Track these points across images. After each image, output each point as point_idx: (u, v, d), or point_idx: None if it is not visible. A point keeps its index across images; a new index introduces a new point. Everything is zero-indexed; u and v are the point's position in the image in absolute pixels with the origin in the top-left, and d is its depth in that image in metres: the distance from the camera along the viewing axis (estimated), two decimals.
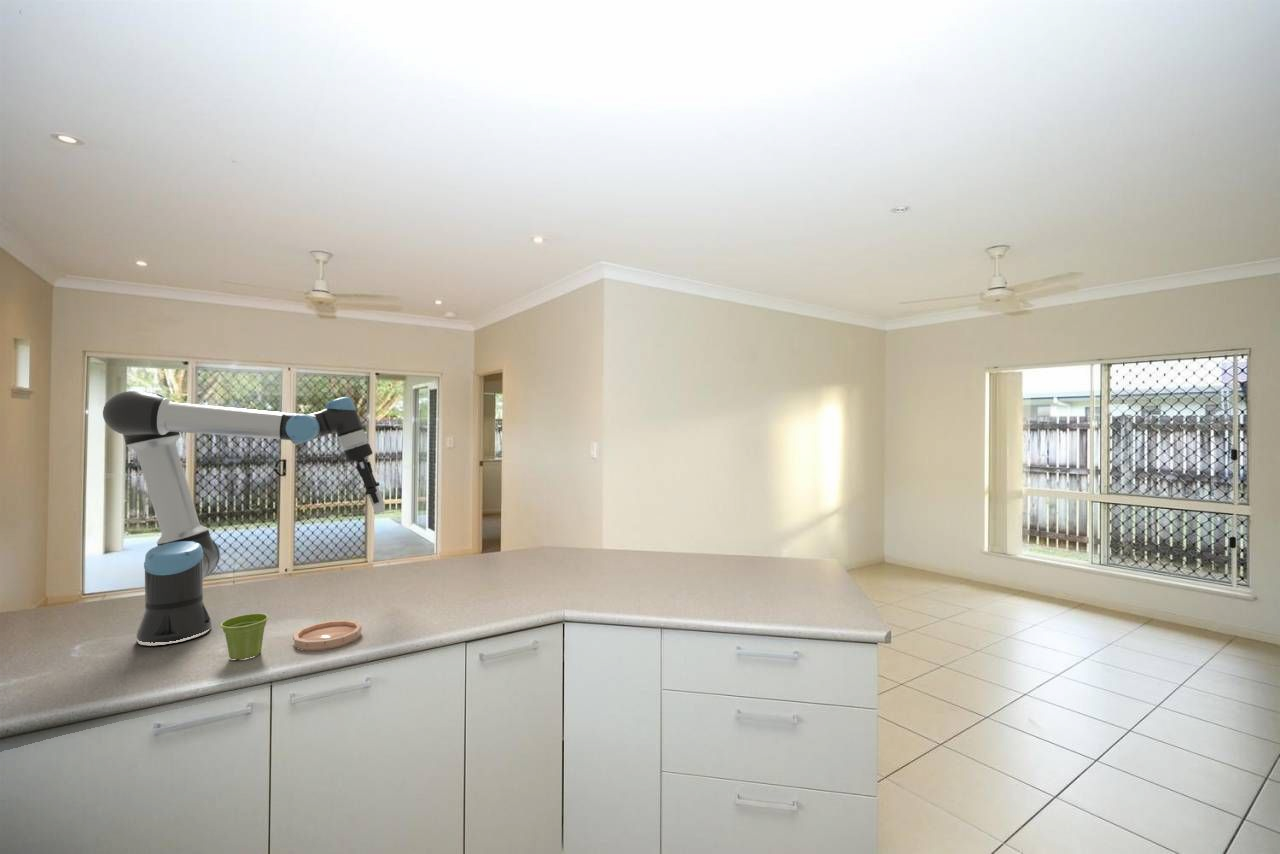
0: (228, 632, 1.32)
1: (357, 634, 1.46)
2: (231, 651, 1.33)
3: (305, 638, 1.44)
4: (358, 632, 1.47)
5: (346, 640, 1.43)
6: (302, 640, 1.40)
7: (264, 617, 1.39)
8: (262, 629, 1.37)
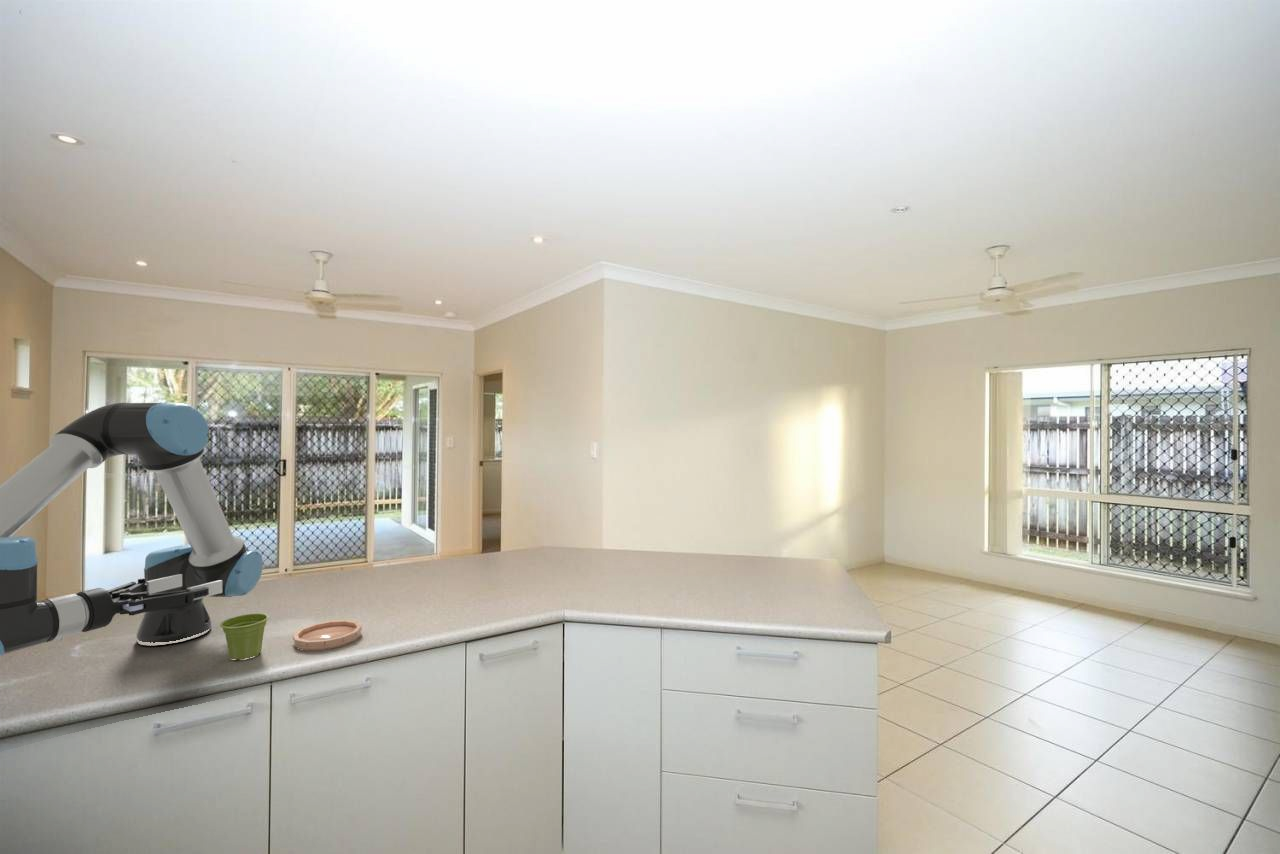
0: (228, 632, 1.32)
1: (357, 634, 1.46)
2: (231, 651, 1.33)
3: (305, 638, 1.44)
4: (358, 632, 1.47)
5: (346, 640, 1.43)
6: (302, 640, 1.40)
7: (264, 617, 1.39)
8: (262, 629, 1.37)
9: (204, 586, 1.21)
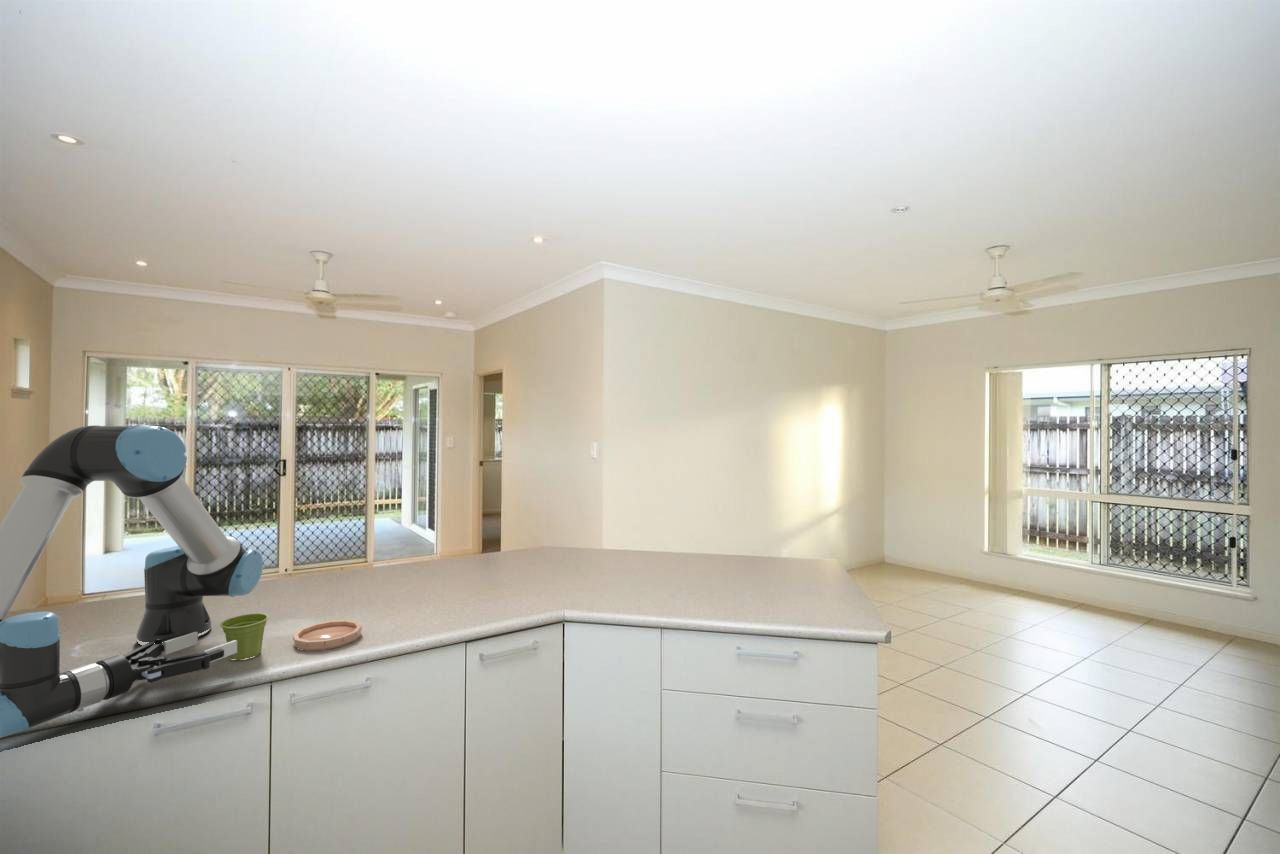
0: (228, 632, 1.32)
1: (357, 634, 1.46)
2: None
3: (305, 638, 1.44)
4: (358, 632, 1.47)
5: (346, 640, 1.43)
6: (302, 640, 1.40)
7: (264, 617, 1.39)
8: (262, 629, 1.37)
9: (219, 648, 1.24)
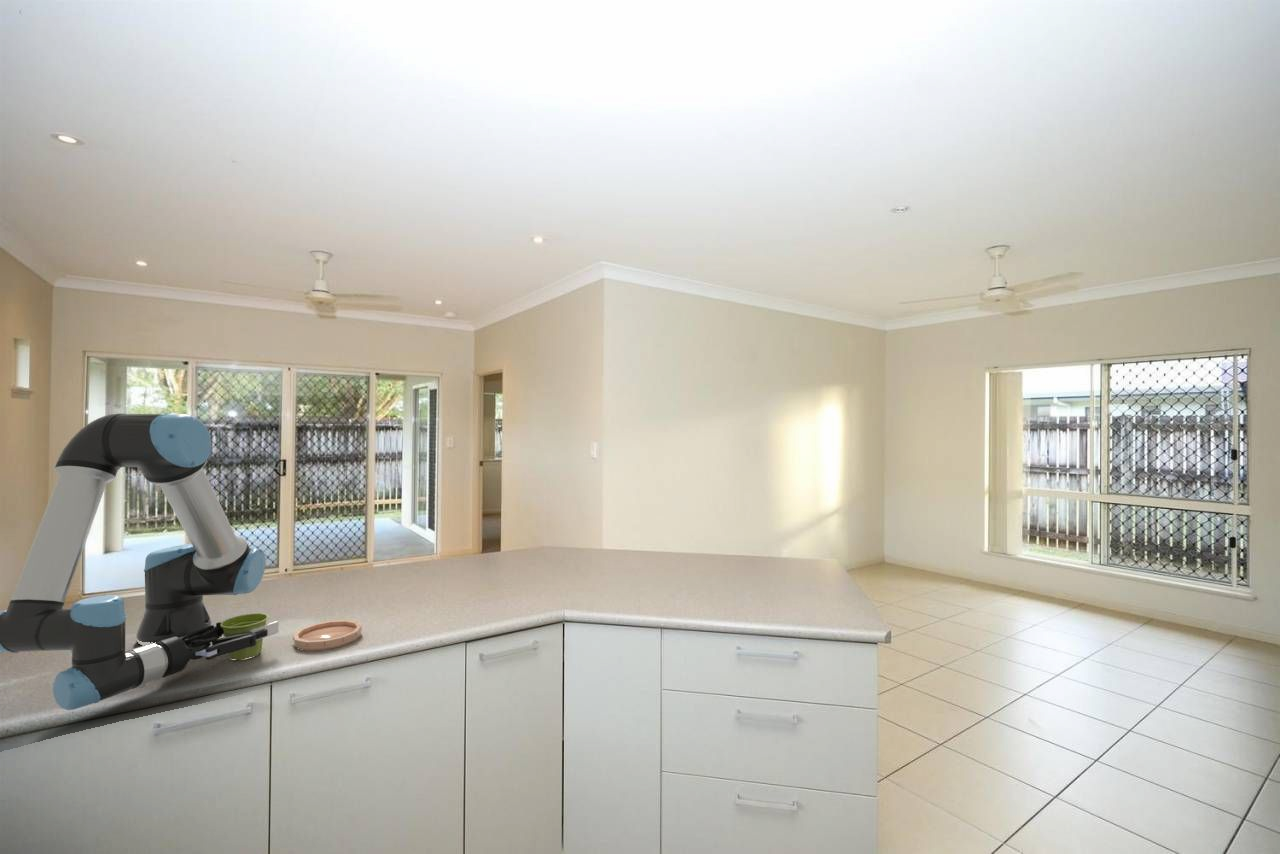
0: (228, 632, 1.32)
1: (357, 634, 1.46)
2: None
3: (305, 638, 1.44)
4: (358, 632, 1.47)
5: (346, 640, 1.43)
6: (302, 640, 1.40)
7: (264, 617, 1.39)
8: None
9: (263, 628, 1.35)
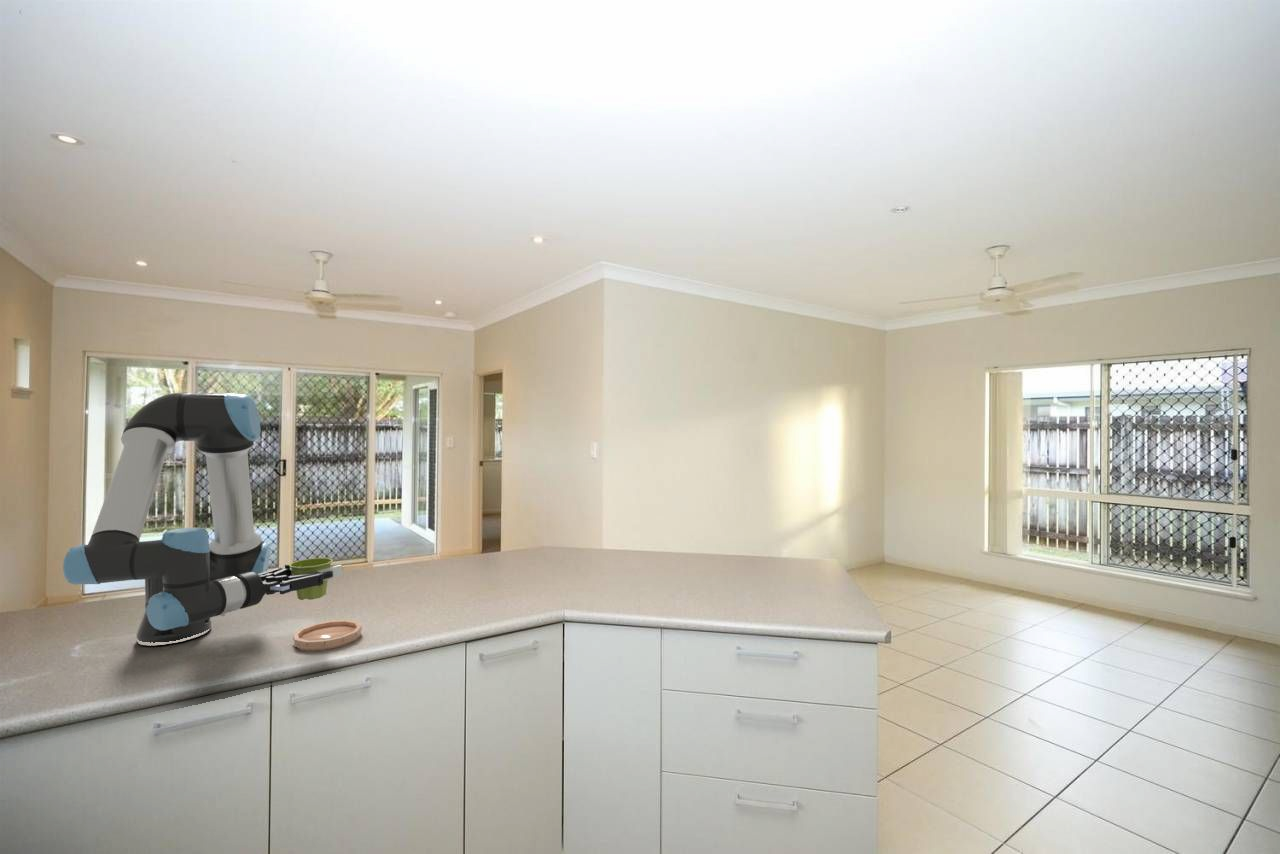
0: (297, 572, 1.39)
1: (357, 634, 1.46)
2: (299, 591, 1.40)
3: (305, 638, 1.44)
4: (358, 632, 1.47)
5: (346, 640, 1.43)
6: (302, 640, 1.40)
7: (328, 561, 1.46)
8: None
9: (329, 569, 1.42)
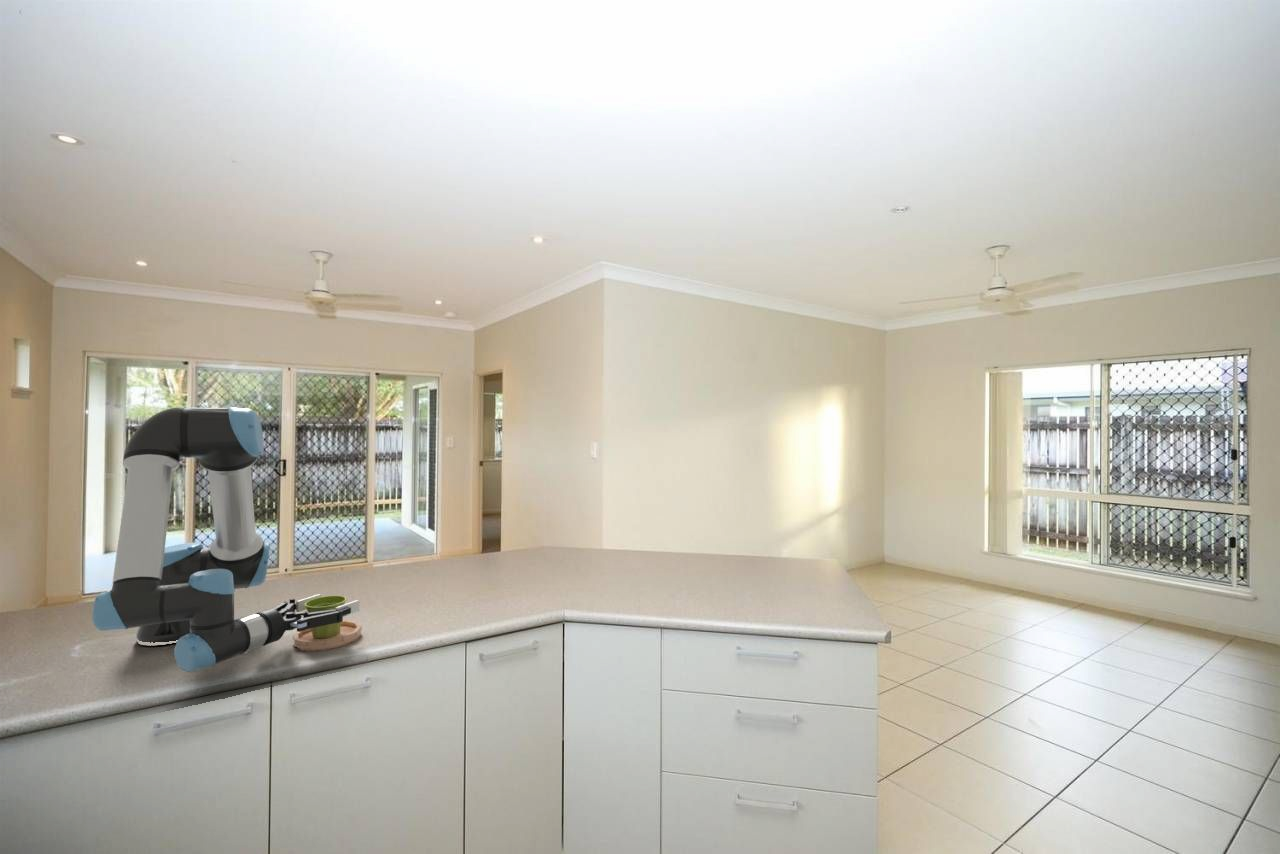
0: None
1: (357, 634, 1.46)
2: (315, 630, 1.43)
3: (305, 638, 1.44)
4: (358, 632, 1.47)
5: (346, 640, 1.43)
6: (302, 640, 1.40)
7: (342, 599, 1.50)
8: None
9: (347, 605, 1.44)
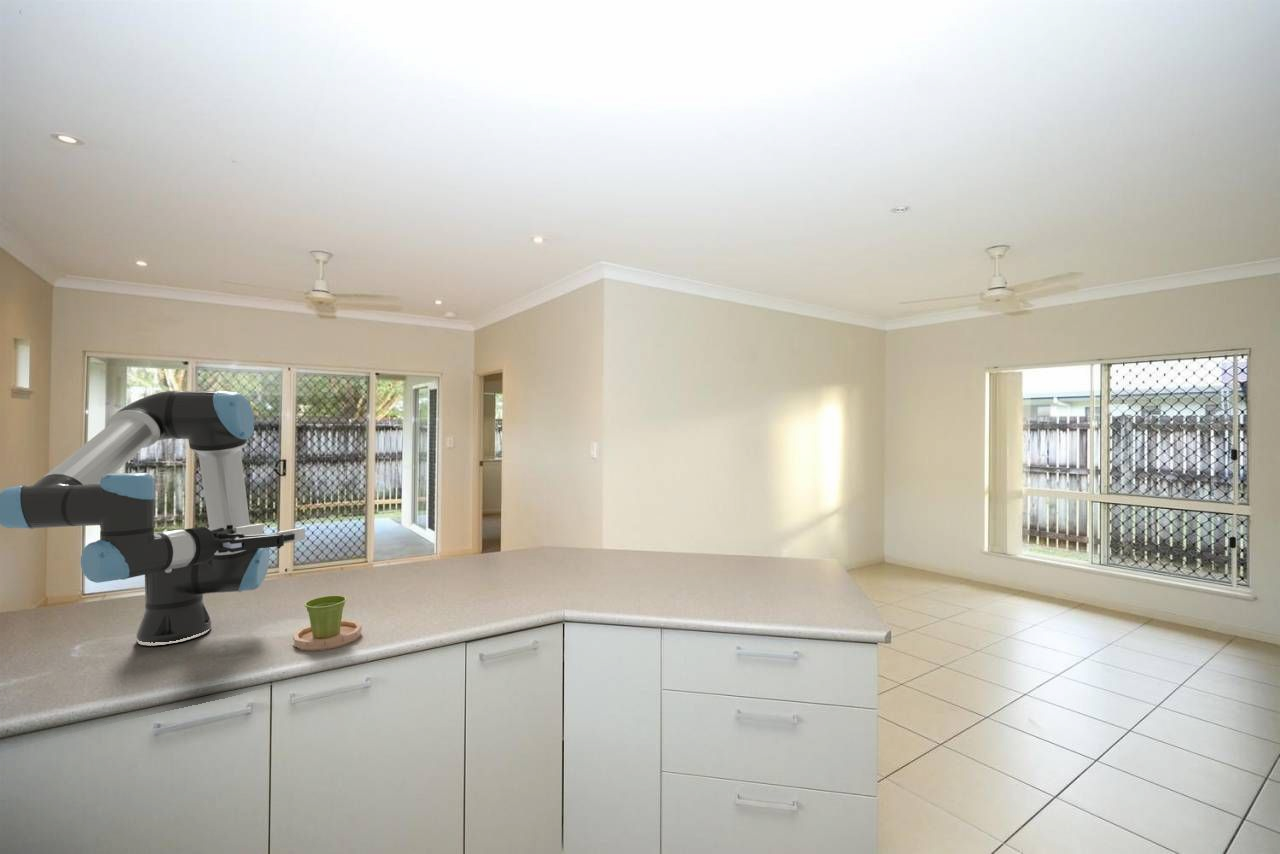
0: (312, 612, 1.43)
1: (357, 634, 1.46)
2: (315, 630, 1.43)
3: (305, 638, 1.44)
4: (358, 632, 1.47)
5: (346, 640, 1.43)
6: (302, 640, 1.40)
7: (342, 599, 1.50)
8: (341, 609, 1.47)
9: (290, 531, 1.30)
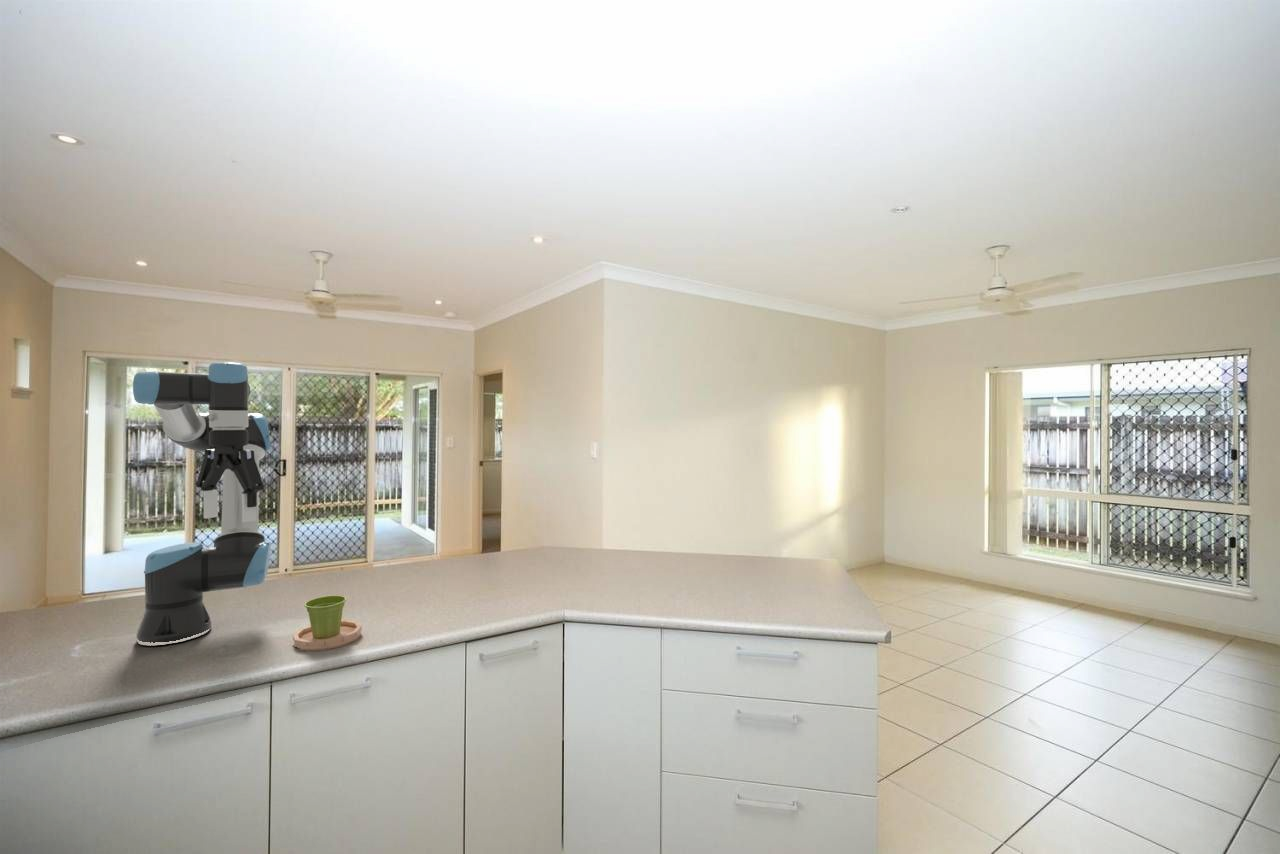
0: (312, 612, 1.43)
1: (357, 634, 1.46)
2: (315, 630, 1.43)
3: (305, 638, 1.44)
4: (358, 632, 1.47)
5: (346, 640, 1.43)
6: (302, 640, 1.40)
7: (342, 598, 1.50)
8: (341, 609, 1.47)
9: None
